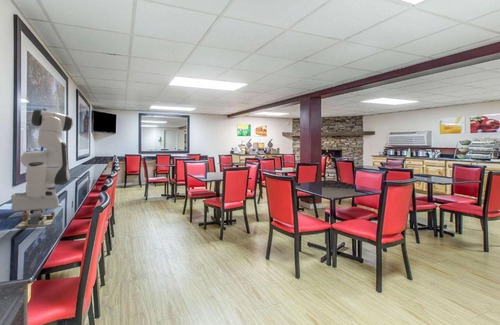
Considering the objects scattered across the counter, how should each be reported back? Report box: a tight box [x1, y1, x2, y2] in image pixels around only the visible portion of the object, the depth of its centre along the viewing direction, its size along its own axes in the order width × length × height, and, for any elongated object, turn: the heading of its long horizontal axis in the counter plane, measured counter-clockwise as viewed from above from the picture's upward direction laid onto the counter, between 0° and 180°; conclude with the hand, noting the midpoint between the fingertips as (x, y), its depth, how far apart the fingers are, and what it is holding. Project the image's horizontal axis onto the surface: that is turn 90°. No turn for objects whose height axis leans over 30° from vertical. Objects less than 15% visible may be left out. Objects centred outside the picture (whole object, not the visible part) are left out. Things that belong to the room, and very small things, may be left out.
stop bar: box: [31, 210, 42, 224], centre depth 150 cm, size 10×3×4 cm, turn 31°
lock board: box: [17, 210, 56, 230], centre depth 156 cm, size 24×14×4 cm, turn 31°
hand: (36, 217), depth 150 cm, fingers closed on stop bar, 3 cm apart
